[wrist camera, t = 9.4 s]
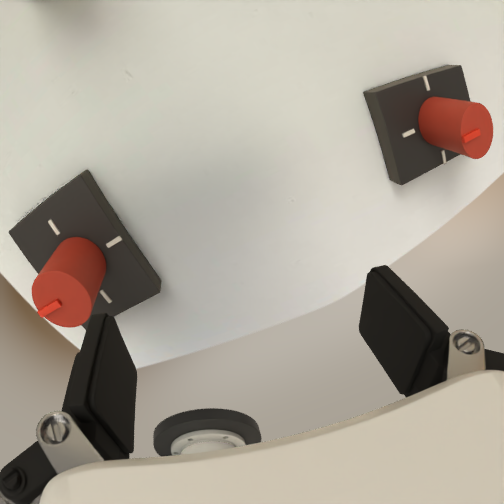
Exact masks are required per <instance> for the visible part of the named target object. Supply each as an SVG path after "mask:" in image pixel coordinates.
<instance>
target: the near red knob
mask: <svg viewBox="0 0 504 504" xmlns="http://www.w3.org/2000/svg"><path fill="white" fill-rule="evenodd" d="M105 273H106V261H105V257H104V255H103V253H102V251H101V250H100V249H99V247H98V246H97V245H95V244H94V243H93V242H91V241H90V240H88V239H85V238H81V237H72V238H68V239H66V240H64V241H63V242H61V243H60V245H59V246H58V247H57V249H56V250H55V251H54V253H53V254H52V256H51V257H50V258H49V260H48V261H47V263H46V264H45V266H44V267H43V268H42V270H41V271H40V273H39V274H38V276H37V277H36V279H35V281H34V283H33V286H32V297H33V301H34V304H35V306H36V307H37V309H38V312H37V313H38V314H39V315H40V316H41V317H45V318H46V319H47V320H49V321H50V322H52V323H54V324H56V325H59V326H62V327H76V326H79V325H82V324H83V323H85V322H86V321H87V320H88V319H89V317H90V315H91V312H92V309H93V306H94V303H95V300H96V297H97V295H98V292H99V289H100V286H101V284H102V281H103V278H104V276H105Z"/></svg>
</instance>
